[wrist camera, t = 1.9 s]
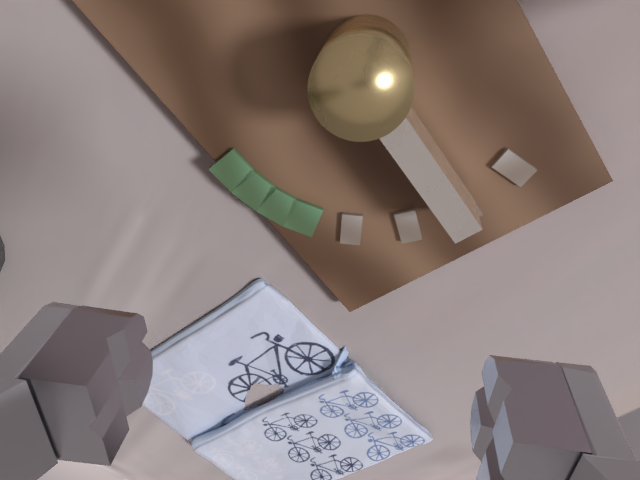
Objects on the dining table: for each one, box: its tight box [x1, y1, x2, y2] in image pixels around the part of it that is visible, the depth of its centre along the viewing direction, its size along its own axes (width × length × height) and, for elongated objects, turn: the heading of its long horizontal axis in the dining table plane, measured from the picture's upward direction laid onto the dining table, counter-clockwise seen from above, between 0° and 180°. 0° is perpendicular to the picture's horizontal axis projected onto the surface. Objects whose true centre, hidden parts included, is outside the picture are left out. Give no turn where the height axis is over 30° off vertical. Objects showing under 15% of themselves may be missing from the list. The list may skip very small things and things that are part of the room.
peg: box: [307, 14, 483, 244], centre depth 24 cm, size 11×4×5 cm, turn 38°
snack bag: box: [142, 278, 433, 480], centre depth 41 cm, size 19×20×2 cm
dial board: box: [72, 0, 613, 312], centre depth 26 cm, size 18×25×2 cm
